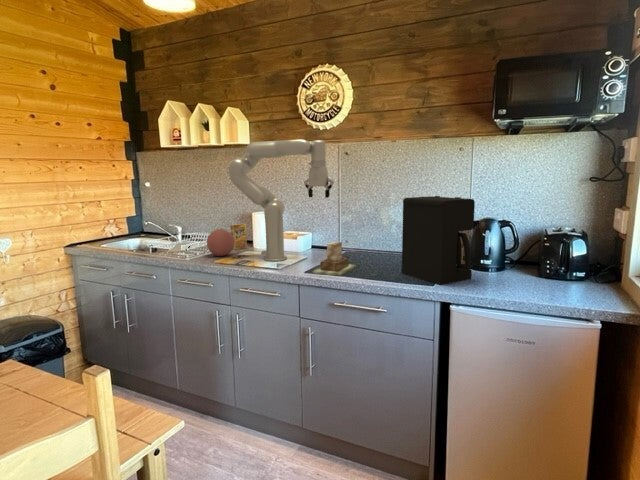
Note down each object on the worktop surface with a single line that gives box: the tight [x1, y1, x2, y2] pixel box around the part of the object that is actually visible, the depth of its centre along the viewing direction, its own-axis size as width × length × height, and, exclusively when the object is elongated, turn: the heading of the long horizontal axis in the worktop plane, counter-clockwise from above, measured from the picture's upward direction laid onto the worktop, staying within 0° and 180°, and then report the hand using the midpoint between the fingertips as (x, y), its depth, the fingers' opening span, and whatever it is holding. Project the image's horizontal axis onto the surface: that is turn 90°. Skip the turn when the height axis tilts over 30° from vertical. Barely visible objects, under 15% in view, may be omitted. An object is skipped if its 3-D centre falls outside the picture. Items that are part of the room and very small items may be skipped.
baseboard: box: [166, 240, 190, 254], centre depth 262 cm, size 31×3×12 cm
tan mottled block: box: [326, 241, 343, 262], centre depth 198 cm, size 4×8×12 cm, turn 153°
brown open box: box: [312, 256, 357, 277], centre depth 199 cm, size 14×20×5 cm
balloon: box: [206, 228, 235, 257], centre depth 238 cm, size 15×20×15 cm
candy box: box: [230, 223, 248, 251], centre depth 257 cm, size 9×4×15 cm, turn 126°
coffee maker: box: [401, 195, 476, 286], centre depth 181 cm, size 28×20×35 cm
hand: (318, 197), depth 220 cm, fingers open, 9 cm apart
